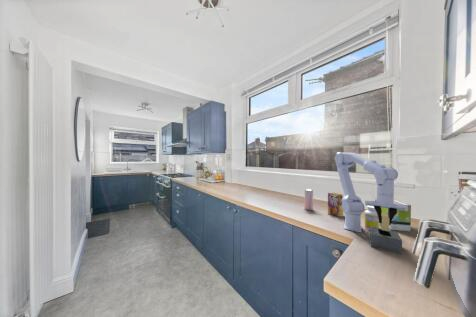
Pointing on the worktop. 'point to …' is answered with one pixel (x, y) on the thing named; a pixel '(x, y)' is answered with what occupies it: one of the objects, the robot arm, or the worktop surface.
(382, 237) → the coin box
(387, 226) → the yellow flat block
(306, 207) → the beverage can
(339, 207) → the candy box
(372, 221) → the supplement bottle
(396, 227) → the tea box
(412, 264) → the worktop surface
